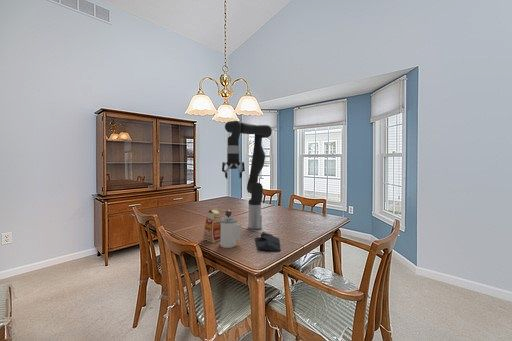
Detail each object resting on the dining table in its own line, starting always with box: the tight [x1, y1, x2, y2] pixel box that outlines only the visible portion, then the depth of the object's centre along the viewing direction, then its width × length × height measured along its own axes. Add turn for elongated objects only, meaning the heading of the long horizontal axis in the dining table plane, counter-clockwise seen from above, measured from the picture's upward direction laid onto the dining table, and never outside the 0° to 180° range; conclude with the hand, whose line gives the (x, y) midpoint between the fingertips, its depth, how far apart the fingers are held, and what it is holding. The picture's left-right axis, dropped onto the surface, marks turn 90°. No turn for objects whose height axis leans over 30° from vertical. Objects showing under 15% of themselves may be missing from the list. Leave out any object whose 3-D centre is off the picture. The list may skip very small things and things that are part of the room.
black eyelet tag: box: [254, 231, 282, 253], centre depth 141 cm, size 15×22×5 cm
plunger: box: [225, 209, 232, 220], centre depth 139 cm, size 4×4×16 cm
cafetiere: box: [219, 216, 242, 249], centre depth 139 cm, size 12×9×15 cm
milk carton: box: [202, 207, 221, 243], centre depth 149 cm, size 9×9×20 cm
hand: (233, 178), depth 153 cm, fingers open, 8 cm apart
